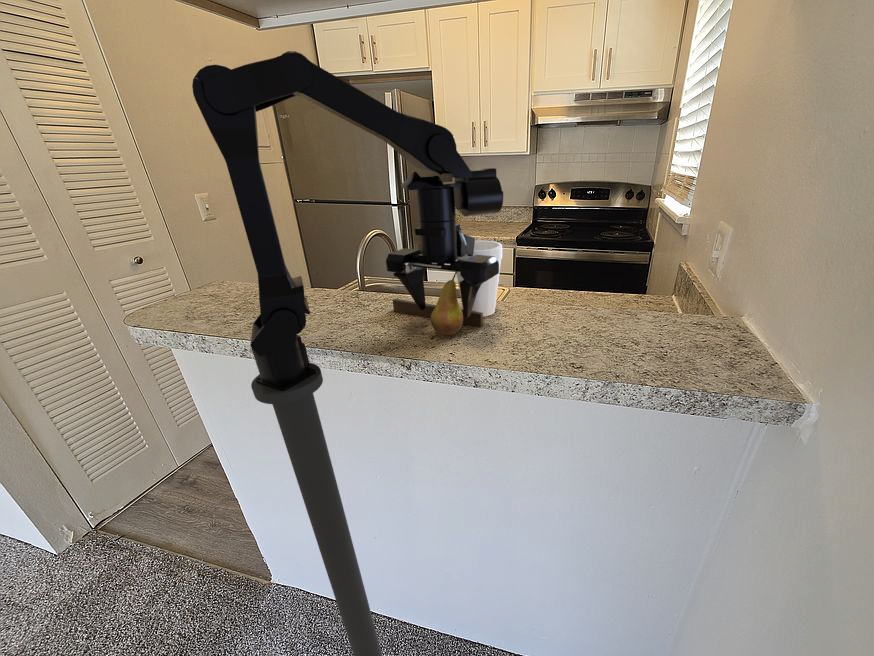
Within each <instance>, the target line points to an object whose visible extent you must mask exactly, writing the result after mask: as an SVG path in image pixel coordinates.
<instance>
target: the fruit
mask: <svg viewBox="0 0 874 656" xmlns="http://www.w3.org/2000/svg"><path fill="white" fill-rule="evenodd" d="M456 273H457V271H454V274H453V276H452V279H450V280H448V281H446V282H445V283H444V285H443V287H442V289H441V291H440V294H439V296H438V299H437V302H436V304H435V305H436V306H435V308H434V310H433V312H432V314H431V318H430V324H431V327H432V329H433V330H434V331H435V332H436V333H437V334H439V335H441V336H453V335H455V334H457V333H458V332H459V331H460V330H461V328H462V326H463V324H462V323H463V313H462V311H461V309H462V308H461V307H460V305H459V301H458V294H457V293H458V292H457V291H458V290H457V285H456V284H457V283H456V282H455V278H456V276H457V274H456Z"/></svg>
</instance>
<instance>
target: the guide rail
mask: <svg viewBox="0 0 874 656" xmlns="http://www.w3.org/2000/svg"><path fill="white" fill-rule="evenodd" d="M435 306H436V304H431V303H425V309H424V310H420V309H419V307H418V306H417V304H416V303H415V301H414V300H413V301H412V300H405V299H399V298H394V299H392V308H393V312H395V313H400V314H405V315H411V316H417V317H422V318H427V319H428V318H429V319H431V314H432V312H433V310H434V308H435ZM460 309H461V311H462V313H463V323H462V325H468V326H474V327H480V328H481V327H483V326H484V317H483V313H482V312H476V311H471V314H470V316H469V317H468V318H465V315H464V312H463V308H460Z"/></svg>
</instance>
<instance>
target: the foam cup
mask: <svg viewBox="0 0 874 656" xmlns="http://www.w3.org/2000/svg"><path fill="white" fill-rule="evenodd" d="M467 255H468V254H465V256H463V257H458V259H459V260H466V259H468V258H470V257H472V256H467ZM474 255H485V256H495V258H496V259H497V261H498V263H499V273H498V274H497V275H495V276H494V277H492V278H490V279H489V280H487V281H486V282H484V283H482V284H481V286H480V288H479V290H478V293H477V295H476V298H475V302H474V305H473V308H472V311H476V312H482V313H483V318H484V317H489V316H491V315H493V314H494V313H495V312H496V306H497V298H498V289H499V281H500V274H501V273H500V272H501V264H502V260H503V244H502V243H501V242H498V241H495V240H486V239H485V240H484V239H481V240H476V239H475V244H474V253H473V256H474ZM456 278H457V285H458V289H459V295H460V301H461V302H462V298H461V291H460V284H459V282H461V281H463V280H464V279H463V278H462V276H461V275H460V272H457V273H456ZM461 305H462V304H461ZM462 307H463V305H462Z"/></svg>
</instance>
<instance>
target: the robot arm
mask: <svg viewBox="0 0 874 656" xmlns="http://www.w3.org/2000/svg"><path fill="white" fill-rule="evenodd" d="M191 87H192V94H193V98H194V101H195V102H196V104H197V107H198V108H199V111H200V113H201V115H202V118H203V119H204V122H205V123H206V126H207V128H208V130H209V132H210V134H211V137H212V138H213V140H214V141H215V144H216V145H217V147H218V149H219V151H220V154H221V155H222V157H223V159H224V162H225V164H226V168H227V171H228V175H229V179H230V182H231V186H232V188H233V189H232V190H233V192H234V196H235V199H236V202H237V203H236V204H237V206H238V209H239V213H240V217H241V220H242V223H243V227H244V231H245V234H246V238H247V241H248V245H249V248H250V251H251V255H252V259H253V262H254V265H255V269H256V272H257V279H258V280H257V283H258V284H257V285H258V299H259V300H258V301H259V312H260V313H259V315H258V316H257V317H256V318H255V320H254V321H253V323H252V326H251V327H252V328H251V335H250V348H251V352H252V356H253V358H254V361H255V364H256V367H257V370H258V373H259V374H260V376H261V377H259V378H257V379H256V383H258V384H262V385H265V386H268V387H271V388H274V389H277V390H280V391H286V390H287V389H289V388H291V387H293V386H294V385H296V384H298V383H299V382H301V381H303V380H305V379H306V378H308V377H310V376H311V375H313V374H315V373H316V369H313V368H310V367H309V366H310V363H311V362H310V359H309V355H308V352H307V351H308V350H307V347H306V344H305V342H303V341H302V336H301V335H300V333H302V331H303V330H304V328H306V325H307V316H306V315H311V310H310V306H309V302H308V299H307V297H306V296H305V286H304V283H303V277H302V276H301V275H299V276H295V277H292V276H291V274H290V271H289V270H288V267H287V265H286V262H285V258H284V253H283V249H282V245H281V242H280V238H279V234H278V230H277V225H276V222H275V219H274V214H273V210H272V206H271V202H270V198H269V194H268V190H267V186H266V182H265V178H264V174H263V169H262V166H261V162H260V152H259V151H260V150H259V134H258V121H257V119H258V118H257V113H258V112H260V111H262V110H266V109H268V108H270V107H272V106H275V105H278V104H280V103H282V102H284V101H288V100H289V99H292V98H295V97H300V98H302V99H305V100H306V101H308V102H310V103H312V104H314V105H316V106H318V107H320V109H321V108H322V109H323V110H325V111H327V112H329V113H330V114H333V115H335V116H336V117H338V118H341V119H342V120H344V121H346V122H348V123H350V124H352V125H353V126H355V127H357V128H359V129H361V130H363V131H365V132H367V133H369V134H370V135H373V136H374V137H376V138H378V139H380V140H382V141H384V143H386V144H387V145H389V146H390V147H391V148H392V149H393V150H394V151H395V152H396V153H398V154H399V155H400V156H401V157H402V158H403V159H405V160H406V161H408V162H409V163H410V164H411V165H413V166H414V167H416V168H417V169H418V170H421V171H425V172H434V173H436V174H437V175H425V176H423V175H422V176H421V175H420V174H419V173H418V172H417V171H413V170H412V171H410V172H409V174H408V176H407V178H406V179H405V180H404V181H403V182H402V183H401V184H400V185H401V188H402V189H403V190H408V191H415V193H416V194H415V195H416V205H417V215H418V227H415V228H414V235H415V236H420V245H421V249H419V248H417V249H416V248H407V247H406V248H405V247H404V248H400V249H398V250H395V251H392V252H390V253H388V254H387V256H386V259H385V266H386V271H387V272H391V273H393V277H395V278H397V279H398V280H399V281H400V283H401V284H402V286H403V287H404V288H405V290H407V292H408V293H409V295H410V296H411V298H412V299H413V302H415V303H416V304H417V306H418V307H419V309H420V310H424V309H425V304H426V293H425V284H424V283H425V282H424V276H425V273H426V269H431V270H441V271H449V272H456V271H457V272H460V275H461V276H462V278H463V279H464V280H463V281H461V282H459V284H460V290H459V292H460V291H461V296H460V299H461V298H462V301H461V305H463V306H462V309H463V312H464V315H465V318H468V317H469V316H470V314H471V311H472V308H473V305H474V302H475V298H476V295H477V293H478V290H479V288H480V286H481V284H482V283H484V282H486V281H487V280H489V279H490V278H492V277H494V276H495V275H497V274H498V273H499V263H498V261H497V259H496V258H495V256H485V255H474V256H473V253H474V244H475V240H476V238H475V237H474V236H470V235H468V234H465V233H463V232H462V226H461V223H457V221H456V220H457V219H456V211H460V213H461V214H462V216H463V217H472V216H474V217H475V216H483V215H484V216H485V215H493V214H498V213H500V212H501V210H502V208H503V204H504V191H503V189H502V184H501V182H500V179H499V177H498V176H497V168H495V167H483V168H481V169H472V170H471V169H470V167H469V166H468V165H467V163H466V161H465V160H464V159H463V157H462V156H461V154H460V153H459V152H458V149H457V143H456V139H455V136H454V134H453V132H451V131H450V130H449V129H448V128H446V127H445V126H443V125H439V124H437V123H434V122H432V121H428V120H425V119H422V118H419V117H415V116H411V115H408V114H404V113H403V112H399V111H397V110H395V109H393V108H391V107H390V106H388V105H386V104H385V103H383V102H381V101H379V100H377V99H376V98H374V97H373V96H371V95H369V94H368V93H365V92H364V91H362V90H360V89H359V88H357V87H355V86H353V84H350V83H348V82H347V81H345V80H343V79H341V78H339V77H338V76H336V75H335V74H333V73H331V72H330V71H327V69H326V70H325V69H324V68H322V67H321V66H319V65H317V64H315V63H314V62H312V61H310V60H309V59H308V58H307V56H306V55H304V54H303V53H301V52H299V51H295V50H288V51H285V52H283V53H282V54H280V55H278V56H275V57H272V58H268V59H263V60H259V61H254V62H249V63H247V64H246V63H245V64H243V65H241V66H240V65H239V66H237V67H234V68H229V67H227V66H224V65H220V64H209V65H206V66H204V67H202V68H200V69H199V70H198V71H197V73H196V74H195V76H194V77H193V79H192V84H191ZM441 177H446V178H453V179H454V181H445V182H444V181H443V180H442V178H441ZM465 254H468V255H467V256H472V257H470V258H468V259H466V260H459V259H458V257H463V256H465Z"/></svg>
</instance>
